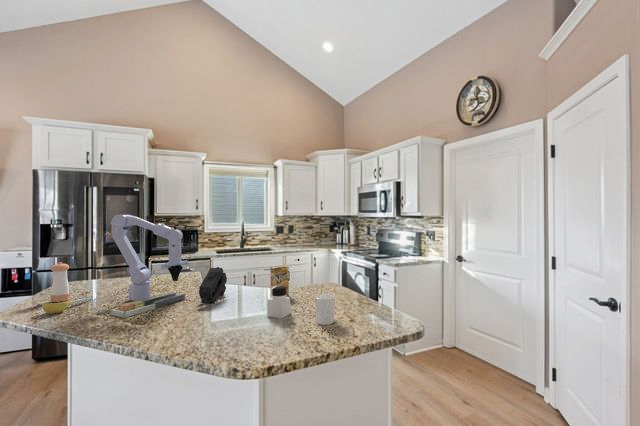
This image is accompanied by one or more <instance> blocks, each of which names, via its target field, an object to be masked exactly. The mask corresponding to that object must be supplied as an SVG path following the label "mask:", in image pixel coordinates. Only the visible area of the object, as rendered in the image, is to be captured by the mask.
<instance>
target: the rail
mask: <svg viewBox="0 0 640 426" xmlns="http://www.w3.org/2000/svg"><path fill="white" fill-rule="evenodd" d="M186 300H187V298H186V294H185V293H180V294H177V292H169V293H166V294H163V295H158V296H155V297H150V299H147V300H143V302H144V307H145V306H148V305H152V304H155V309H159V308H163V307H166V306H168V305H172V304H176V303H179V302H183V301H186Z"/></svg>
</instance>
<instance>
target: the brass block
mask: <svg viewBox="0 0 640 426" xmlns="http://www.w3.org/2000/svg"><path fill="white" fill-rule="evenodd" d="M129 303H132V304H134V309H138V308H141V307H145V306H144V302H143V301H132V302H129Z"/></svg>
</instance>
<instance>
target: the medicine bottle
mask: <svg viewBox="0 0 640 426" xmlns="http://www.w3.org/2000/svg"><path fill="white" fill-rule="evenodd" d="M266 302H267V303H266V308H267V310H266V314H267V317H268V318H274V319H280V320H281V319H283V318H286V317H287V316H289V315H291V297H290V296H286V288H285V287H284V286H275V287H273V288H272V297H269V298H268V299H267V300H266Z"/></svg>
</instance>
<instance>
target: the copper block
mask: <svg viewBox="0 0 640 426" xmlns="http://www.w3.org/2000/svg"><path fill="white" fill-rule="evenodd" d="M118 308H119V311H123V312H127V311H131V310H134V304H132V303H130V302H126V303H121V304H119V305H118Z"/></svg>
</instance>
